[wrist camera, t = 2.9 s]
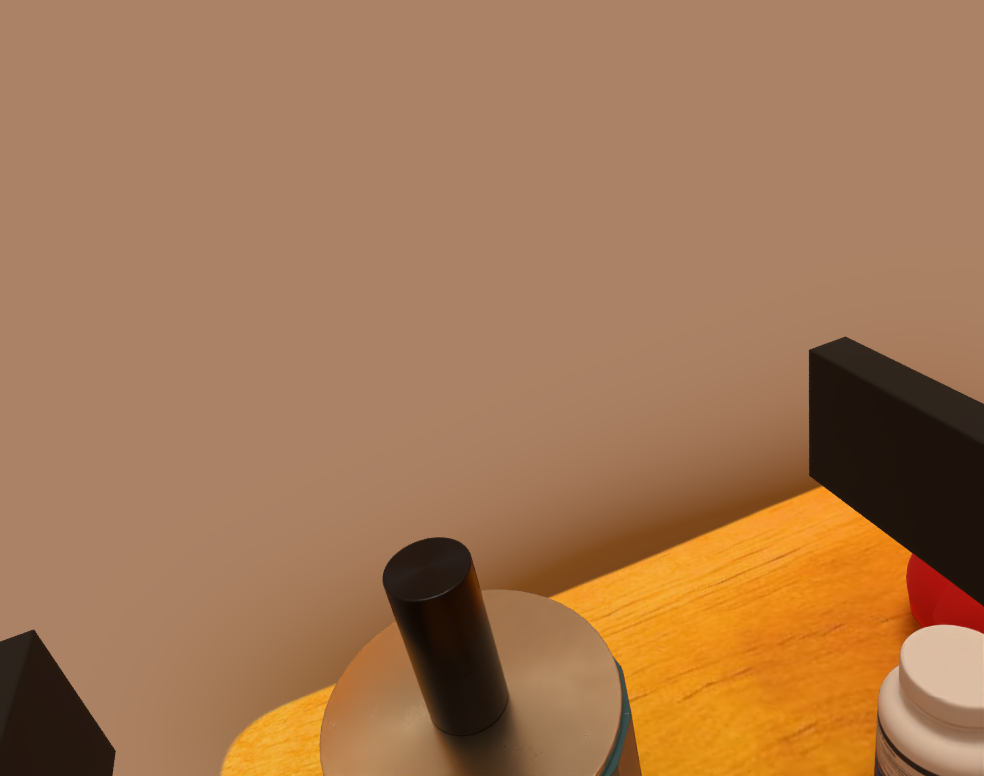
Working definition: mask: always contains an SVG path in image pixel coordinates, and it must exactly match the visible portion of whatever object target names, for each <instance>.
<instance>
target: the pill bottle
mask: <svg viewBox="0 0 984 776" xmlns="http://www.w3.org/2000/svg"><path fill="white" fill-rule="evenodd" d="M874 776H984V634H982V633H980V632H978V631H975V630H972V629H969V628H965V627H960V626H954V625H935V626H929V627H925V628H922V629H920V630H917V631H916V632H914V633H913V634H911V635H910V636H909V637H908V638H907V639H906V640H905V642H904V643H903V646H902V648H901V652H900V662H899V666H897V667H896V668H894V669H893V670H892V671H891V672H890V673H889V674H888V675H887V677H886V678H885V679H884V681H883V683H882V685H881V688H880V692H879V698H878V710H877V731H876V753H875V770H874Z"/></svg>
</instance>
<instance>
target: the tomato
mask: <svg viewBox="0 0 984 776" xmlns="http://www.w3.org/2000/svg"><path fill="white" fill-rule="evenodd" d="M906 579H907V589H908V594H909V600H910V606H911V611H912V615H913V616H914V617H915V619H916V620H917V621H918V623H919V624H920V625H921V626H922V628H925V627H929V626H935V625H954V626H960V627H965V628H969V629H972V630H975V631H978V632H980V633H982V634H984V606H982V605H981V604H980V603H978V602H977V601H976V600H974V599H973V598H972V597H970V596H969V595H968V594H966V593H965V592H964V591H962V590H961V589H960V588H958V587H957V586H956V585H954V584H953V583H952V582H950V581H949V580H948V579H946V578H945V577H944V576H942V575H941V574H940V573H938V572H937V571H936V570H934V569H933V568H932V567H930V566H929V565H928V564H926V563H925V562H924V561H922V560H921V559H920V558H918V557H917V556H916V555H914V554H913V553H912V555H911V558H910V560H909V563H908V567H907V575H906Z"/></svg>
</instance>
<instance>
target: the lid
mask: <svg viewBox="0 0 984 776" xmlns="http://www.w3.org/2000/svg"><path fill="white" fill-rule="evenodd" d="M383 586H384V588H385V591H386V594H387V597H388V600H389V602H390V605H391V608H392V611H393V614H394V616H395V619H396V621H395V622H393V623H392V624H390V625H389V626H387V627H386V628H385V629H384V630H382V631H381V632H380V633H379V634H377V635H376V636H375V637H374V638H373V639H372V640H371V641H370V642H368V643H367V644H366V645H365V646H364V647H363V648H362V649H361V650H360V652H359V653H358V654H357V655H356V656H355V657H354V659H353V660H352V661H351V663H349V665H348V666H347V668H346V669H345V671H344V672H343V674H342V675H341V677H340V678H339V680H338V682H337V684H336V686H335V688H334V690H333V692H332V694H331V696H330V699H329V701H328V704H327V707H326V709H325V713H324V718H323V722H322V726H321V735H320V760H321V765H322V770H323V775H324V776H603V774H604V773H605V771H606V769H607V767H608V765H609V763H610V761H611V758H612V756H613V754H614V752H615V749H616V745H617V742H618V739H619V736H620V731H621V725H622V718H623V695H622V689H621V682H620V677H619V672H618V669H617V666H616V663H615V660H614V658H613V656H612V654H611V652H610V650H609V648H608V646H607V644H606V643H605V641H604V640H603V639H602V637H601V636H600V634H599V633H598V632H597V631H596V630H595V629H594V628H593V627H592V626H591V625H590V624H589V623H588V622H587V621H586V620H585V619H584V618H583V617H581V616H580V615H579V614H577V613H576V612H575V611H573V610H571V609H570V608H568V607H566V606H564V605H563V604H561V603H559V602H556V601H554V600H551V599H549V598H546V597H543V596H539V595H536V594H532V593H527V592H521V591H515V590H480V586H479V583H478V579H477V575H476V572H475V568H474V565H473V561H472V557H471V554H470V552H469V550H468V549H467V548H466V547H465V545H463V544H462V543H460V542H459V541H457V540H454V539H450V538H444V537H435V538H427V539H424V540H420V541H417V542H414V543H412V544H410V545H408V546H406V547H404V548H403V549H401V550H400V551H399V552H397V553H396V554H395V555H394V556H393V557H392V558H391V559H390V561H389V562H388V563H387V565H386V567H385V569H384V573H383Z"/></svg>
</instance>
